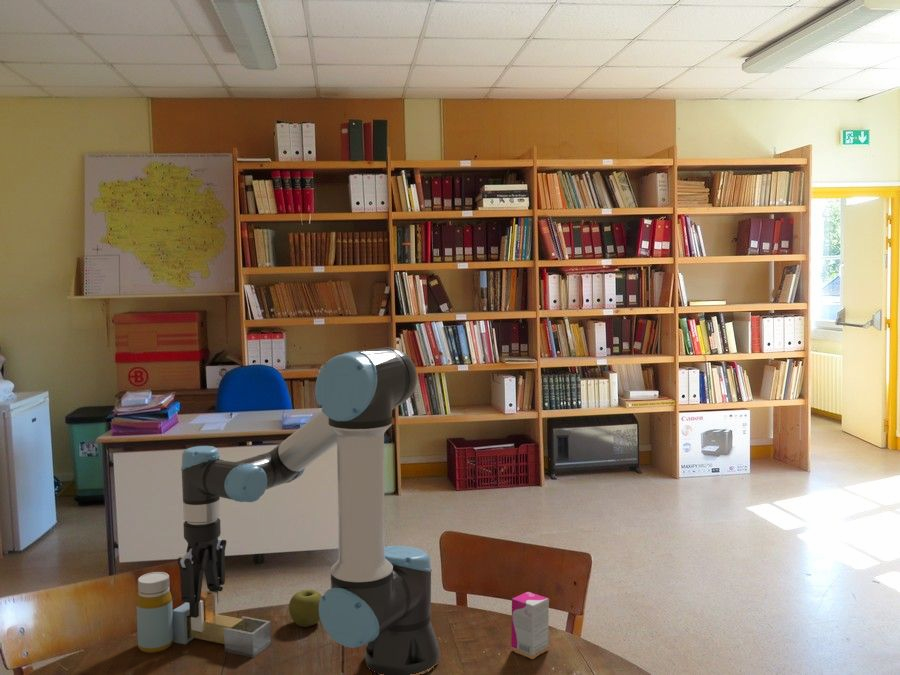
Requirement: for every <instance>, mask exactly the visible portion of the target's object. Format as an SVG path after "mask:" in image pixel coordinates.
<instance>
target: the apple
mask: <svg viewBox="0 0 900 675" xmlns="http://www.w3.org/2000/svg"><path fill="white" fill-rule="evenodd" d="M322 596H323V595H322V593H321V592H319V591H318V590H315V589H303V590H300V591H298V592H296V593H294V594H293V595H292V597H291V598H290V601H289V603H288V611H289V615H290V618H291V619H292V621H293V622H294V623H295V625H297V626H299V627H304V628H306V627H307V628H308V627H311V626H314V625H315V624H318V623H319V621H321V620H320V617H319V602H320V599H321V597H322Z"/></svg>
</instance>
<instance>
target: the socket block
mask: <svg viewBox="0 0 900 675" xmlns="http://www.w3.org/2000/svg"><path fill="white" fill-rule="evenodd" d="M172 611H173V643H175V644H176V643H177V644H181V645H186V644H188V643H189V642H191V641H192V640H194V639H195V638H193V637H188V636H187V616H188V615H190V605H189V603H188V602H183V603H182V604H181V605H180V606H178V607H176V608H174V609H172Z"/></svg>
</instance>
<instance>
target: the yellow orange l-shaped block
mask: <svg viewBox="0 0 900 675" xmlns="http://www.w3.org/2000/svg"><path fill="white" fill-rule="evenodd" d="M200 600H202V601H203V611H204V631H202V632H200V631H195V630H191V617H190V615H188V616H187V636H188V637H193V638H194V639H198V640H204V641H207V642H212V643H213V642H214V643H218V644H223V645H225V639H224V629H225V628H231V629H236V630H241V631H244V623H243V619H241V618H239V617H233V616H228V615H223V614H219V613H218V614H213V593H211V592H205V591H204V590H201V599H200Z"/></svg>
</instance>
